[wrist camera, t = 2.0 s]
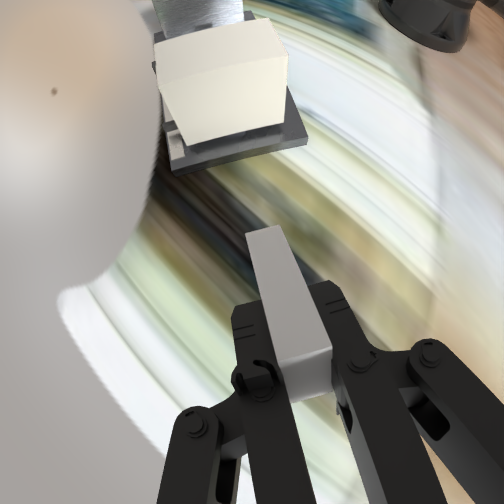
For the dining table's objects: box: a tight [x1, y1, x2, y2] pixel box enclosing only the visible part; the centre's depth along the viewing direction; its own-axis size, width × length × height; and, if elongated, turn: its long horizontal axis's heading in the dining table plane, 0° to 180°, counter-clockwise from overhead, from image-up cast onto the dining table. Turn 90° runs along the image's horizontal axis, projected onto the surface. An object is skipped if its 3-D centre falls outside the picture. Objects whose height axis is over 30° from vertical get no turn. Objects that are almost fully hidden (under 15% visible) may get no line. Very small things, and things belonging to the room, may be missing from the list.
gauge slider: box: [152, 18, 289, 146], centre depth 22 cm, size 5×11×9 cm, turn 104°
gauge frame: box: [152, 0, 308, 177], centre depth 25 cm, size 22×13×10 cm, turn 14°
